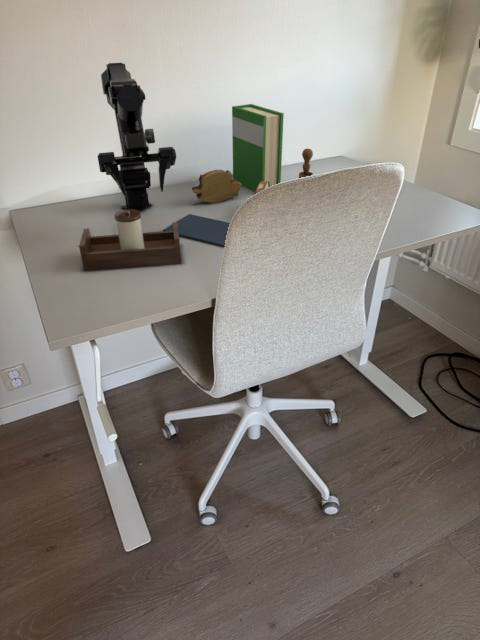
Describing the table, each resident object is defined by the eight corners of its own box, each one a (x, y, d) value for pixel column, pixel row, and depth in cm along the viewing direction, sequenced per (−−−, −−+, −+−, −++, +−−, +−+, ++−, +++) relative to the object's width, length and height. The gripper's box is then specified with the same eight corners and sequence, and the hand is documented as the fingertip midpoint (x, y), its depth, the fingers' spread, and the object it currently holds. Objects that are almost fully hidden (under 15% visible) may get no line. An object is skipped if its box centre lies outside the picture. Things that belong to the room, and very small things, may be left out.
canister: (114, 250, 114) (107, 212, 108) (131, 241, 119) (125, 203, 113) (134, 256, 112) (128, 217, 106) (150, 246, 116) (145, 208, 110)
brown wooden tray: (89, 252, 119) (83, 228, 115) (179, 245, 122) (177, 222, 118) (84, 271, 111) (78, 246, 107) (181, 263, 114) (179, 238, 110)
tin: (263, 223, 133) (263, 194, 128) (252, 222, 134) (252, 194, 129) (270, 204, 145) (271, 177, 141) (260, 203, 146) (261, 176, 141)
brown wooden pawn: (291, 206, 144) (294, 146, 133) (311, 205, 144) (316, 145, 134) (294, 214, 138) (298, 152, 128) (316, 213, 139) (322, 151, 128)
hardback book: (280, 190, 155) (283, 113, 142) (261, 195, 152) (263, 116, 138) (250, 176, 168) (251, 103, 154) (233, 180, 164) (232, 106, 150)
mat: (162, 232, 129) (162, 230, 129) (189, 215, 138) (189, 213, 138) (225, 247, 121) (225, 245, 121) (248, 229, 130) (248, 227, 130)
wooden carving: (236, 194, 153) (235, 163, 147) (243, 198, 150) (243, 167, 144) (190, 203, 146) (188, 171, 140) (196, 208, 143) (194, 176, 137)
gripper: (90, 118, 106) (103, 186, 105) (172, 113, 110) (184, 177, 110) (94, 140, 117) (105, 201, 116) (168, 134, 121) (179, 193, 121)
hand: (143, 193), depth 115 cm, fingers open, 9 cm apart
